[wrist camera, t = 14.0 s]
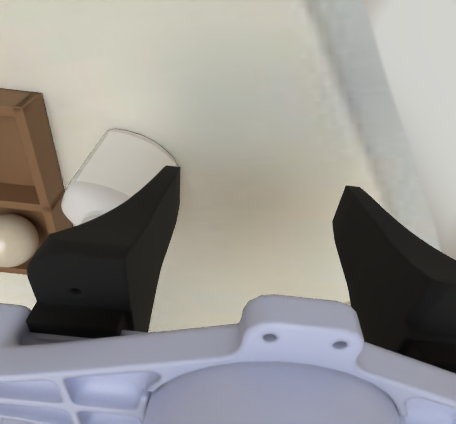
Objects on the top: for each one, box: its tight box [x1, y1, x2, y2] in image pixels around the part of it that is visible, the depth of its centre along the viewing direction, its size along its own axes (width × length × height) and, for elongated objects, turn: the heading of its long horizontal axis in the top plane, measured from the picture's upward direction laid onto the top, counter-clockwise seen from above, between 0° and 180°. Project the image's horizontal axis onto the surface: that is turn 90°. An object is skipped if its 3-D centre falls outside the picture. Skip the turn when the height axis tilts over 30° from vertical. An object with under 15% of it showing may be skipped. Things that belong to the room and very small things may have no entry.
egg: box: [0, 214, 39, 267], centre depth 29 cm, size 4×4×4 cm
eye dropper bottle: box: [61, 129, 177, 226], centre depth 22 cm, size 4×6×12 cm
